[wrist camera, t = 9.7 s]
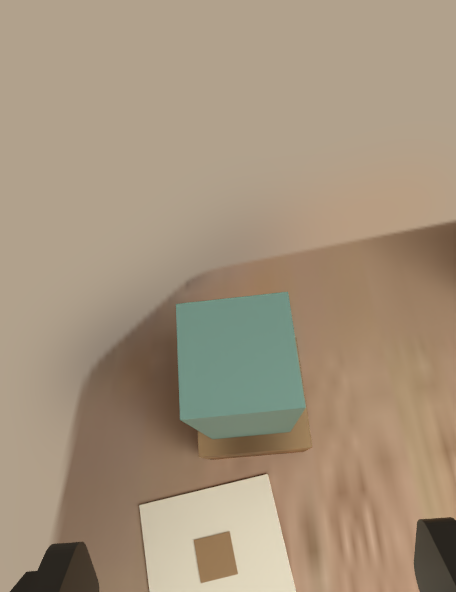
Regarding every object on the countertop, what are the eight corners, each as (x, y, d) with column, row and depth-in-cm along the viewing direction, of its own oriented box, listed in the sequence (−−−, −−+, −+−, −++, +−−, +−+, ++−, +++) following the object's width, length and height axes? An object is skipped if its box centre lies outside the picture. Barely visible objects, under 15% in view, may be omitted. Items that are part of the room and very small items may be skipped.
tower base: (290, 360, 31) (296, 337, 26) (303, 451, 29) (312, 447, 23) (206, 369, 32) (193, 347, 26) (211, 459, 29) (198, 456, 24)
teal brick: (279, 356, 26) (288, 291, 16) (290, 431, 24) (306, 407, 15) (207, 363, 26) (175, 304, 17) (212, 439, 24) (179, 419, 15)
